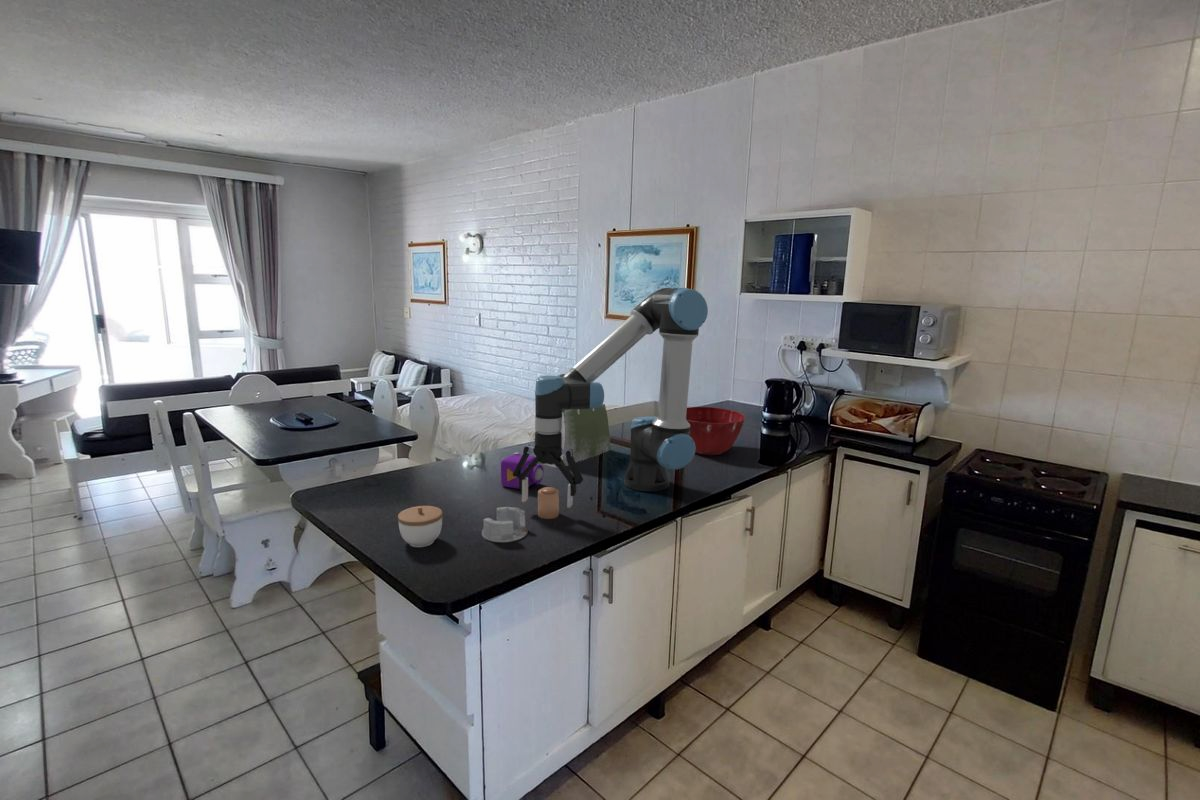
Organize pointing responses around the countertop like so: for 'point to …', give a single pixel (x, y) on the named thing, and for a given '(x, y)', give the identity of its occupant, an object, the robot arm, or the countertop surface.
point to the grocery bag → (584, 433)
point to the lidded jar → (420, 525)
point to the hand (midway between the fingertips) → (547, 503)
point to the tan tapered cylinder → (548, 503)
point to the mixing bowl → (713, 428)
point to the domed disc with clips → (505, 526)
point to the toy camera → (510, 465)
